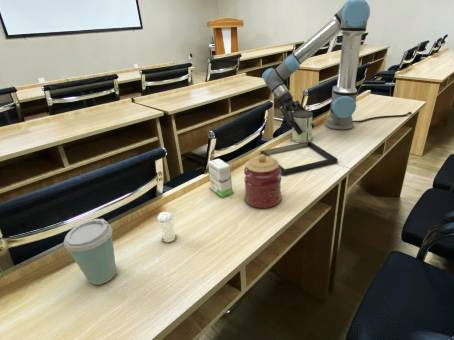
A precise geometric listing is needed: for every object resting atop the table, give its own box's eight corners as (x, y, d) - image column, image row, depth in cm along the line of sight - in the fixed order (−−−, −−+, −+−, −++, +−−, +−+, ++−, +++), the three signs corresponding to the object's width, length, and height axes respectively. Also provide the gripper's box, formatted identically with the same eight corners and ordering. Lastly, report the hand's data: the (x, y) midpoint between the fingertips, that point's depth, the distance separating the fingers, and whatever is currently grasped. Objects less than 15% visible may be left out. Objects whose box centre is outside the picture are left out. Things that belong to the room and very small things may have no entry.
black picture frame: (309, 144, 155) (309, 141, 154) (337, 162, 136) (337, 158, 136) (260, 154, 146) (260, 150, 145) (282, 175, 127) (282, 171, 126)
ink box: (233, 193, 116) (231, 165, 110) (221, 197, 113) (219, 169, 107) (221, 184, 122) (218, 157, 116) (210, 188, 119) (207, 161, 113)
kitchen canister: (237, 199, 112) (234, 155, 104) (263, 186, 120) (262, 144, 112) (263, 213, 104) (262, 167, 95) (288, 198, 112) (289, 154, 103)
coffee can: (291, 135, 167) (292, 110, 161) (311, 135, 166) (312, 110, 160) (291, 142, 158) (292, 116, 152) (311, 142, 157) (313, 116, 151)
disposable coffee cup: (83, 298, 74) (63, 251, 67) (76, 271, 82) (58, 226, 75) (129, 278, 80) (114, 232, 73) (118, 254, 87) (105, 211, 81)
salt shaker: (156, 240, 93) (150, 212, 88) (172, 232, 96) (167, 205, 91) (163, 247, 90) (157, 219, 85) (180, 238, 93) (175, 211, 88)
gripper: (291, 95, 170) (314, 128, 168) (265, 104, 155) (289, 140, 153) (300, 87, 165) (323, 121, 163) (273, 95, 150) (298, 133, 148)
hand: (306, 130), depth 158 cm, fingers open, 10 cm apart
